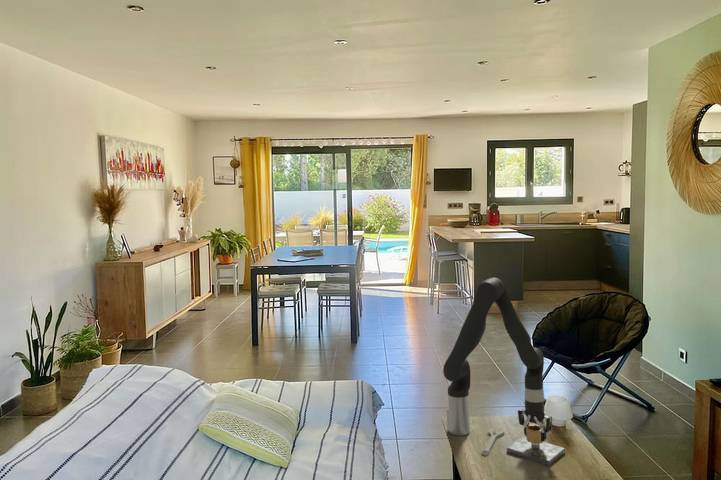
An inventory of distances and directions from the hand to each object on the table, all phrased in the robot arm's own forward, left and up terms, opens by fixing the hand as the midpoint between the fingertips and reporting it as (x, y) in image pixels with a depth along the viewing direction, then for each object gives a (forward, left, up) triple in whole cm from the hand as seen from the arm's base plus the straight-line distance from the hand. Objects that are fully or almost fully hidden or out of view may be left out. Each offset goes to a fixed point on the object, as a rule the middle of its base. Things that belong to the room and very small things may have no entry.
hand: (535, 438), depth 215 cm
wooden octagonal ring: (0, 0, -1) cm, 1 cm away
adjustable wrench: (-19, -3, -7) cm, 21 cm away
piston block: (0, 0, -6) cm, 6 cm away
